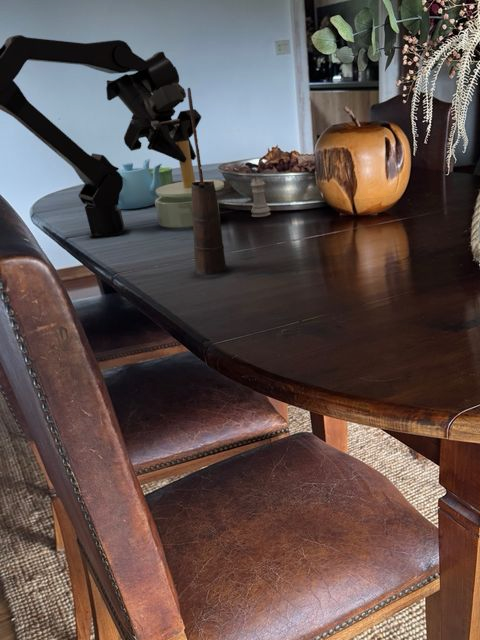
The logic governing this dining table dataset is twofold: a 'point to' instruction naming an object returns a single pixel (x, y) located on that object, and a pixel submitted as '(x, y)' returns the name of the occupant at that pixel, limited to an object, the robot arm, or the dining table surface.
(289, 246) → the dining table surface
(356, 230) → the dining table surface
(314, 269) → the dining table surface
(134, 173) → the teapot
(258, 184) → the rook chess piece
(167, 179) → the ramekin
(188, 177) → the lid
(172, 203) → the pan
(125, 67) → the robot arm
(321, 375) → the dining table surface
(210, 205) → the butter churn
